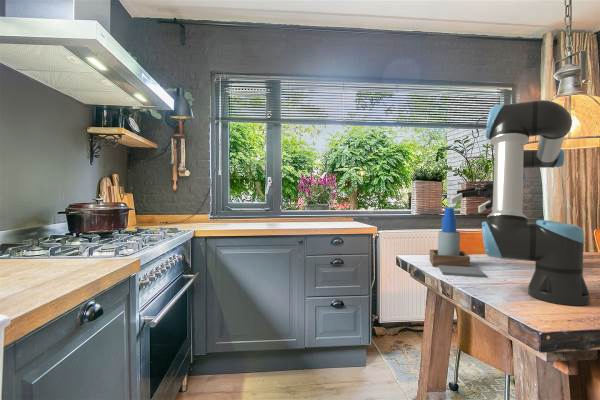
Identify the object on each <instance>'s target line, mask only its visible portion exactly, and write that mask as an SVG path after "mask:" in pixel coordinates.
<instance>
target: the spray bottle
mask: <svg viewBox="0 0 600 400" xmlns="http://www.w3.org/2000/svg"><path fill="white" fill-rule="evenodd" d="M455 215H456V214H455V208H454V207H444V213H443V217H441V230H438V233H437V250H438V255H451V256H460V251H461V234H460V231H457V225H458V224H457V222H458V221H457V217H455Z"/></svg>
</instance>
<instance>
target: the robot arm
mask: <svg viewBox="0 0 600 400" xmlns="http://www.w3.org/2000/svg"><path fill="white" fill-rule="evenodd" d="M486 119H487V120H486V128H485V137H486V139H488V140H490V145H491V146H493V147H494V157H493V158H494V162H493V164H494V165H493V167H494V169H493V180H491V181H489V182H488V183H486V184H485V186H484V187H481V188H480V187H479V186H478V185H475V186H472V187H469V188H463V189H459V190H456V194H455V195H453V196H451V197H450V205H453V204H455V203H457V202H459V201H461V200H463V199H464V198H472V197H476V198H485V199H489V200H487V201H486V202H484V203H481V204H480V205H478V209H477V211H478V213H479V214H480V213H482V212H484V211H486V210H489V209H491V208H492V209H491V210H492V211H491V213H489V214H488V215H487V217H486V221H482V222H481V232H482V234H481V235H482V242H483V249H484V252H485V254H486V255H487V256H488V257H490V258H497V259H501V260H503V259H509V260H518V261H529V262H535V265H534V267H535V269H534V272H533V274H532V277H531V279H530V282H529V284H528V285H527V286H528V287H527V294H528V295H529V296H530V297H532V298H535V299H536V300H540V301H543V302H547V303H552V304H558V305H564V306H565V305H566V306H585V305H589V304H590V302H591V299H590V291H589V289H588V287H587V283H586V280H585V278H584V245H585V239H584V238H585V236H584V229H583V228H582V227H580V226H579V225H576V224H572V223H567V222H566V223H565V222H560V221H554V220H545V219H537V220H536V222H535V224H534V223H529V218H528V217H527V215H525V214H524V213H523V210H524V209H523V205H524V203H523V202H524V198H523V197H524V184H525V182H526V180H527V175H526V173H525V171H524V169H532V168H535V169H536V168H547V169H548V168H551V169H552V168H560V167H563V165H564V162H565V151H564V149H562V145H563V143H564V139H565V137H566V136H567V135H568V133H569V132H570V131H571V128H572V126H573V118H572V116H571V113H570V112H569V111H568V110H567V109H566V108H565V107H564V106H562V105H561V104H559V103H557V102H554V101H551V100H545V99H540V100H534V101H526V102H525V101H522V102H513V103H504V104H499V105H498V104H497V105H494V106H492V107H491V108H490V109H489V112H488V115H487V118H486ZM535 136H536V137H537V136H538V137H539V138H538V144H537V149H535V150H534V149H533V150H525V149H524V148H525V145H526V144H527V143H529V141H530V137H535Z"/></svg>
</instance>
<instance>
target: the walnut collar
mask: <svg viewBox="0 0 600 400" xmlns="http://www.w3.org/2000/svg"><path fill="white" fill-rule="evenodd" d="M429 262H430V264H431V266H432V267H433V268H439V265H445V266H463V267H471V256H470V255H469V254H467V253H466V252H465V251H464V250H460V256H451V255H438V249H429Z"/></svg>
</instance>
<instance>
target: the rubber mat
mask: <svg viewBox="0 0 600 400" xmlns="http://www.w3.org/2000/svg"><path fill="white" fill-rule="evenodd" d="M438 269H439V270H440V272H441V274H442V275H443V276H455V277H456V276H457V277H458V276H459V277H475V278H487V277H486V276H487V275H486V274H485V273H484V272H483V271H482V270H481V269H480V268H479V267H477V266H470V267H463V266H445V265H439V267H438Z"/></svg>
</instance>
